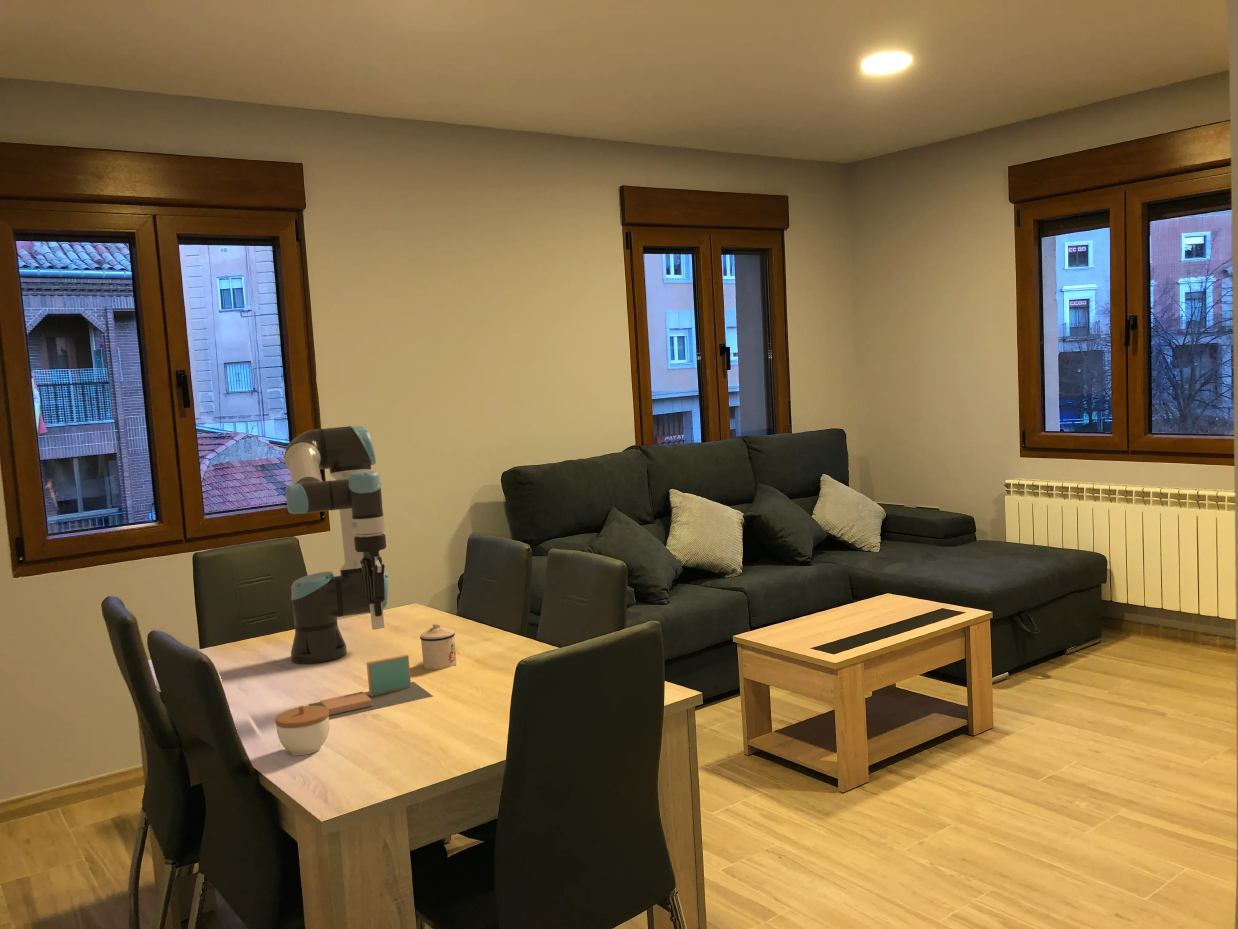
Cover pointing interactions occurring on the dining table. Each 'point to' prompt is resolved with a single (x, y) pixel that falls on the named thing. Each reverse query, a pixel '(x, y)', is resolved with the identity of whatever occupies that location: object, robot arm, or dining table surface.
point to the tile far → (388, 675)
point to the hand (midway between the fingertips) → (378, 628)
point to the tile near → (346, 703)
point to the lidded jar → (303, 729)
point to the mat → (387, 699)
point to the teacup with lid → (438, 648)
